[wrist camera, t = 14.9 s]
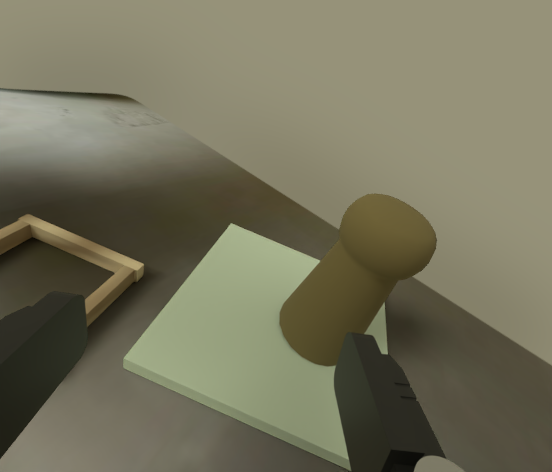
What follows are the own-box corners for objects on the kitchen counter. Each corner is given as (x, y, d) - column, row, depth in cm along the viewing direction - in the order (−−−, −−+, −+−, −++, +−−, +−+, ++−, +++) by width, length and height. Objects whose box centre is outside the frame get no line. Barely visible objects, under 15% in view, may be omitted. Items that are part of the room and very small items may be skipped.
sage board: (123, 368, 18) (123, 358, 17) (229, 231, 31) (231, 223, 30) (386, 487, 17) (395, 481, 16) (378, 294, 30) (383, 287, 29)
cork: (312, 283, 26) (383, 173, 20) (368, 338, 24) (470, 233, 17) (262, 313, 22) (331, 186, 15) (323, 384, 19) (435, 268, 13)
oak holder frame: (-132, 310, 16) (-143, 295, 15) (30, 226, 24) (27, 213, 23) (32, 386, 16) (28, 374, 15) (143, 275, 23) (144, 264, 22)
